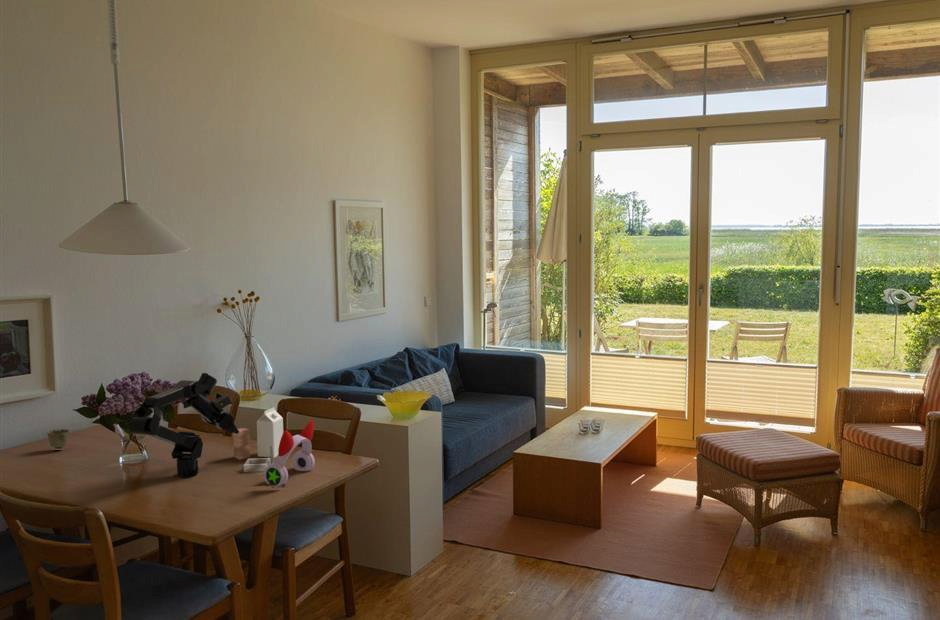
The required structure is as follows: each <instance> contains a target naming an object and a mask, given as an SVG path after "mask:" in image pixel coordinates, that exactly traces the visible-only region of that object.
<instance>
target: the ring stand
mask: <svg viewBox="0 0 940 620" xmlns="http://www.w3.org/2000/svg"><path fill="white" fill-rule="evenodd" d="M274 459H275V457H274V449H273V446H270V457H264V458H263V457H262V458H247V460H246V461H245V463H244V464H243V466H242V467H238V468H236V469H233V470H232V471H233V472H239V473H244V474H250V475H254V476H261V475H264V471H265V469H266V468H267V466H268V465H269V464H271V463H274V462H275V460H274Z"/></svg>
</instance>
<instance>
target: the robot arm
mask: <svg viewBox="0 0 940 620" xmlns="http://www.w3.org/2000/svg"><path fill="white" fill-rule="evenodd" d="M217 383H218V379H216V378H215V377H214V376H212V375H210V374H209V373H208V372H202V373H201V375H200V376H199V379H198V380H185V379H184V380H182V379H181V380H180V381H178V382H177V383H175V384H174V387H172V388H169V389H167V390H165V391H162V392H159V393H157V394H154V395H152V396H147V397H145V399H144V400H143V402H142V404H141V405H140V406H139V407H138V408H137V409H136V410H135V411H134V412H133V414H132V416H131V418H130V420H129V422H128V431H129V433H131V435H132V434H133V435H142V436H150V437H153V438H155V439H157V440H160V441H163V442H165V443H168V444H171V445H173V446H174V448H173V450H172V451H171V458H172V459H176V472H177V473H174V475H173V476H174V477H177V478H184V479H189V478H191V477H195V476H197V475H198V473H199V464H198V463H199V460H198V459H200V458H201V457H202V454H203V453H202V451H203V447H204V442H203V439H202V438H201V437H200V435H201V434H196V433H194V432H191V431H190V432H189V431H174V430H172V429H170V428H167V427H165V426H163V425H161V420H162V413H161V410H162V408H163V407H164V406H167V405H169V404H172V403H175V402H176V401H179V400H181V399H185V400H183V403H182V405H183V406H182V407H183V409H188V408H193V410H195V411H196V412H197V413H198V414H199V415H200V418H201V420H202V421H203V422H206V423H207V424H209V425H212V426H215V427H217V428H218V429H220V430H221V431H226V432H228V433H229V432H230V433H232V434H233V433H236V434H238V433H239V430H238V429H239V428H237V425H235V423H234V419H235V416H234V415H233V414H232V412H229V411H224V409H223V408H226V407H227V406H229V405H231V404H233V400H232V398H231V396H230V395H229V394H227V393H219V392H217V393H215V394H214V395H213V396H214V397H213V400H210V399H209V398H208V397H206V396H210V395H211V393H212V392H213V390H214V388H215V386H216V385H217ZM151 409H152V410H153V415H152V417H151V416H145V415H146V414H147V413H148V412H149V411H150V410H151Z"/></svg>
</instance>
